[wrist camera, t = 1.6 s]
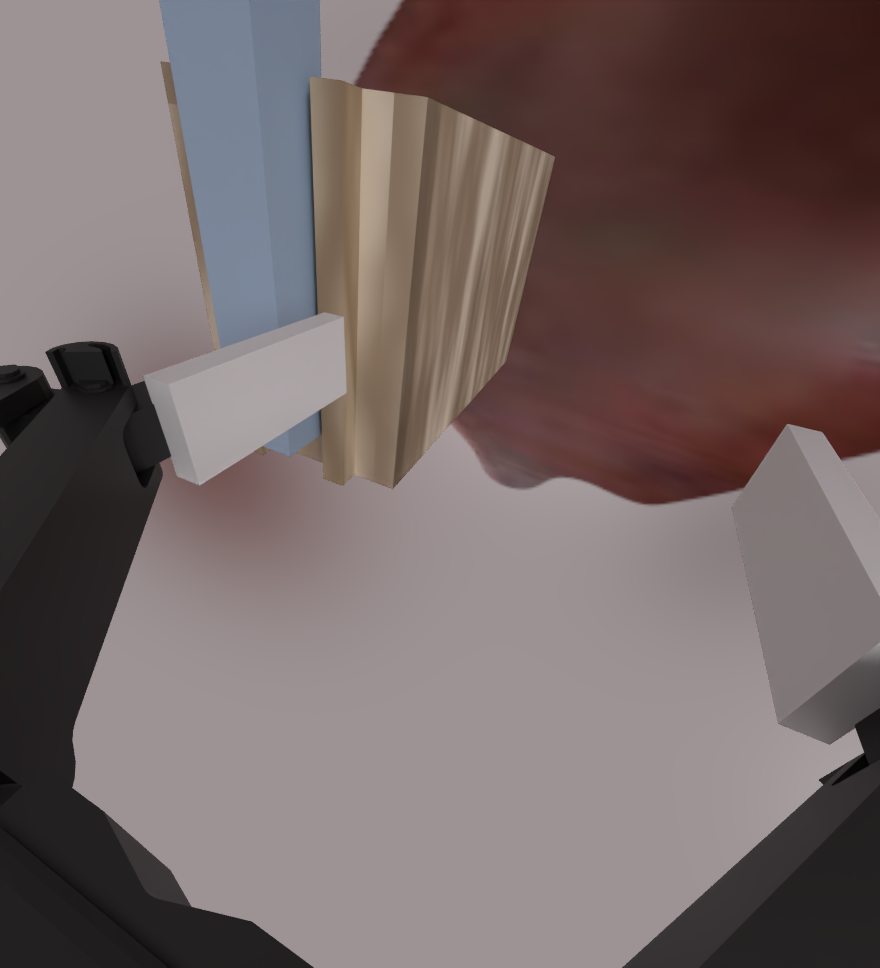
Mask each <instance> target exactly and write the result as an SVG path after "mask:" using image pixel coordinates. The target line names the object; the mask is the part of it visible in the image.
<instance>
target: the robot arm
mask: <svg viewBox="0 0 880 968" xmlns="http://www.w3.org/2000/svg"><path fill="white" fill-rule="evenodd" d="M46 355H47V357H48V359H49V361H50V363H51V365H52V367H53V369H54V372H55V374H56V376H57V378H58V380H59V382H60V384H61V387H62V388H61V389H60V390H59V389H51V387H50V385H49V383H48V381H47V379H46V377H45V375H44V373H43V371H42V370H40V369H38V368H36V367H30V366H17V365H7V366H0V438H1V440H2V441H3V443H4V445H5V446H6V448H7V449H6V450H5V451H4V452H3V453H2V455H1V456H0V968H313V967H312V966H311V965H309V964H308V963H307V962H305V961H304V960H303V959H301V958H300V957H299V956H297V955H296V954H295V953H293V952H292V951H291V950H289V949H288V948H287V947H285V946H284V945H283V944H281V943H280V942H279V941H277V940H276V939H275V938H273V937H272V936H270V935H269V934H268V933H266V932H265V931H264V930H262V929H261V928H260V927H258V926H257V925H256V924H254V923H253V922H251V921H247V920H243V919H239V918H235V917H231V916H227V915H222V914H218V913H214V912H210V911H206V910H202V909H198V908H194V907H191V905H190V903H189V902H188V900H187V898H186V896H185V895H184V893H183V891H182V890H181V888H180V886H179V884H178V883H177V881H176V879H175V877H174V875H173V874H172V872H171V870H169V869H168V868H167V867H166V866H165V865H164V864H162V863H161V862H160V861H159V860H158V859H157V858H156V857H155V856H153V855H152V854H151V853H150V852H149V851H147V849H146V848H144V847H143V846H142V845H141V844H140V843H139V842H138V841H136V840H135V839H134V838H133V837H132V836H131V835H130V834H129V833H127V832H126V831H125V830H124V829H123V828H122V827H121V826H119V825H118V824H117V823H116V822H115V821H114V820H113V819H112V818H110V817H109V816H108V815H107V814H106V813H105V812H104V811H102V810H101V809H100V808H98V807H97V806H96V805H94V804H93V803H92V802H90V801H89V800H87V799H86V798H85V797H84V796H82V795H81V794H80V793H78V792H77V791H76V790H74V789H73V788H72V787H73V782H74V778H75V762H76V761H75V756H74V748H73V742H72V737H73V729H74V725H75V721H76V718H77V715H78V712H79V710H80V707H81V704H82V701H83V698H84V695H85V692H86V690H87V687H88V684H89V681H90V678H91V676H92V673H93V670H94V667H95V665H96V662H97V659H98V656H99V653H100V650H101V648H102V645H103V642H104V639H105V637H106V634H107V631H108V628H109V625H110V622H111V620H112V617H113V614H114V611H115V608H116V606H117V603H118V600H119V597H120V594H121V592H122V589H123V586H124V583H125V580H126V578H127V575H128V572H129V569H130V566H131V564H132V561H133V558H134V555H135V552H136V550H137V547H138V544H139V541H140V538H141V535H142V533H143V530H144V527H145V524H146V521H147V518H148V516H149V513H150V510H151V507H152V504H153V502H154V499H155V496H156V493H157V491H158V488H159V485H160V482H161V479H162V476H163V472H162V468H161V466H160V464H159V463H160V462H161V461H163V460H165V459H167V458H169V457H171V459H172V462H173V465H174V468H175V471H176V474H177V476H178V477H180V478H183V479H185V480H188V481H190V482H193V483H195V484H197V485H201V484H203V483H204V482H206V481H207V480H209V479H210V478H212V477H214V476H215V475H217V474H219V473H220V472H222V471H223V470H225V469H227V468H228V467H230V466H231V465H233V464H234V463H236V462H238V461H239V460H241V459H242V458H244V457H246V456H247V455H249V454H250V453H252V452H254V451H255V450H257V449H258V448H260V447H262V446H263V445H265V444H266V443H268V442H269V441H271V440H273V439H274V438H276V437H277V436H279V435H281V434H282V433H284V432H285V431H287V430H289V429H290V428H292V427H293V426H295V425H297V424H298V423H300V422H301V421H303V420H304V419H306V418H308V417H309V416H311V415H312V414H314V413H316V412H317V411H319V410H320V409H322V408H324V407H325V406H327V405H328V404H330V403H332V402H333V401H335V400H336V399H338V398H339V397H341V396H343V395H344V394H346V393H347V387H346V361H345V336H344V317H342V316H338V315H334V314H330V313H326V312H324V313H321V314H318V315H315V316H312V317H310V318H307V319H304V320H301V321H298V322H295V323H292V324H290V325H287V326H284V327H281V328H278V329H275V330H272V331H270V332H267V333H264V334H261V335H258V336H255V337H252V338H250V339H247V340H244V341H241V342H238V343H235V344H232V345H230V346H227V347H224V348H221V349H218V350H215V351H212V352H210V353H207V354H204V355H201V356H198V357H195V358H192V359H190V360H187V361H184V362H181V363H178V364H175V365H172V366H169V367H167V368H164V369H161V370H158V371H155V372H152V373H149V374H147V375H144V376H143V377H144V380H145V381H143V382H140V383H137V384H134V385H132V386H131V383H130V380H129V378H128V375H127V372H126V369H125V367H124V364H123V361H122V358H121V355H120V353H119V350H118V347H116V346H115V345H113V344H110V343H106V342H93V341H90V342H76V343H70V344H65V345H61V346H57V347H55V348H52V349H50V350H48V351H46ZM732 512H733V516H734V520H735V526H736V530H737V535H738V539H739V544H740V549H741V553H742V558H743V562H744V567H745V572H746V577H747V581H748V586H749V591H750V595H751V600H752V605H753V609H754V614H755V618H756V623H757V628H758V632H759V637H760V642H761V646H762V651H763V656H764V660H765V665H766V669H767V674H768V679H769V683H770V688H771V693H772V697H773V701H774V707H775V711H776V716H777V721H778V724H780V725H783V726H785V727H788V728H790V729H793V730H795V731H797V732H800V733H803V734H805V735H807V736H810V737H812V738H814V739H817V740H819V741H822V742H824V743H827V744H829V745H830V744H832V743H833V742H835V741H836V740H838V739H839V738H841V737H842V736H844V735H845V734H846V733H848V732H850V731H851V730H853V729H854V728H856V731H857V733H858V736H859V739H860V742H861V745H862V747H863V750H864V753H863V754H861V755H859V756H858V757H856V758H854V759H852V760H851V761H849V762H847V763H846V764H844V765H842V766H841V767H839V768H838V769H836V770H834V771H833V772H831V773H830V774H828V775H826V776H824V777H823V778H821V779H819V781H820V782H821V783H822V784H823V786H822V787H821V788H819V789H818V790H817V791H816V792H815V793H814V794H813V795H812V796H811V797H809V798H808V799H807V800H806V801H805V802H804V803H803V804H802V805H801V806H800V807H798V808H797V809H796V810H795V811H794V812H793V813H792V814H791V815H790V816H789V817H787V819H785V820H784V821H783V822H782V823H781V824H780V825H779V826H778V827H776V828H775V829H774V830H773V831H772V832H771V833H770V834H769V835H768V836H767V837H765V838H764V839H763V840H762V841H761V842H760V843H759V844H758V845H757V846H756V847H754V848H753V849H752V850H751V851H750V852H749V853H748V854H747V855H746V856H745V857H743V858H742V859H741V860H740V861H739V862H738V863H737V864H736V865H735V866H734V867H733V868H731V869H730V870H729V871H728V872H727V873H726V874H725V875H724V876H723V877H722V878H720V879H719V880H718V881H717V882H716V883H715V884H714V885H713V886H712V887H710V888H709V889H708V890H707V891H706V892H705V893H704V894H703V895H702V896H701V897H699V898H698V899H697V900H696V901H695V902H694V903H693V904H692V905H691V906H689V908H687V909H686V910H685V911H684V912H683V913H682V914H681V915H680V916H679V917H677V918H676V919H675V920H674V921H673V922H672V923H671V924H670V925H669V926H667V927H666V928H665V929H664V930H663V931H662V932H661V933H660V934H659V935H658V936H657V937H655V938H654V939H653V940H652V941H651V942H650V943H649V944H648V945H647V946H645V947H644V948H643V949H642V950H641V951H640V952H639V953H638V954H637V955H636V956H635V957H633V958H632V959H631V960H630V961H629V962H628V963H627V964H626V965H625V966H623V967H622V968H880V519H879V517H878V516H877V514H876V513H875V511H874V510H873V508H872V507H871V505H870V504H869V502H868V501H867V499H866V498H865V496H864V495H863V493H862V492H861V490H860V488H859V487H858V485H857V484H856V483H855V481H854V479H853V478H852V476H851V475H850V474H849V472H848V470H847V469H846V467H845V466H844V464H843V463H842V461H841V460H840V458H839V457H838V455H837V454H836V452H835V451H834V449H833V448H832V446H831V445H830V443H829V442H828V440H827V439H826V437H825V436H824V434H823V433H822V432H819V431H815V430H811V429H806V428H802V427H798V426H794V425H790V424H787V425H786V426H785V428H784V429H783V431H782V432H781V434H780V435H779V437H778V438H777V440H776V441H775V443H774V444H773V446H772V447H771V449H770V450H769V452H768V453H767V455H766V456H765V458H764V459H763V461H762V462H761V464H760V465H759V467H758V468H757V470H756V471H755V473H754V474H753V476H752V477H751V479H750V480H749V482H748V483H747V485H746V486H745V488H744V490H743V491H742V493H741V494H740V496H739V497H738V499H737V500H736V502H735V503H734V505H733V506H732Z"/></svg>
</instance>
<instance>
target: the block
mask: <svg viewBox="0 0 880 968" xmlns="http://www.w3.org/2000/svg"><path fill="white" fill-rule="evenodd" d="M319 1H320V0H159V2H160V8H161V13H162V19H163V25H164V30H165V36H166V42H167V47H168V53H169V59H170V64H171V70H172V76H173V81H174V87H175V93H176V98H177V104H178V110H179V116H180V121H181V127H182V133H183V138H184V144H185V150H186V155H187V161H188V167H189V172H190V178H191V184H192V189H193V195H194V201H195V206H196V212H197V218H198V223H199V229H200V235H201V241H202V246H203V252H204V258H205V263H206V269H207V275H208V280H209V286H210V292H211V297H212V303H213V309H214V314H215V320H216V326H217V331H218V337H219V343H220V348H224V347H227V346H230V345H232V344H235V343H238V342H241V341H244V340H247V339H250V338H252V337H255V336H258V335H261V334H264V333H267V332H270V331H272V330H275V329H278V328H281V327H284V326H287V325H290V324H292V323H295V322H298V321H301V320H304V319H307V318H310V317H312V316H315V315H318V305H317V276H316V247H315V218H314V189H313V160H312V131H311V102H310V77H318V78H321V45H320V44H321V43H320V2H319ZM321 434H322V421H321V409H320V410H319V411H317V412H316V413H314V414H312V415H311V416H309V417H308V418H306V419H304V420H303V421H301V422H300V423H298V424H297V425H295V426H293V427H292V428H290V429H289V430H287V431H285V432H284V433H282V434H281V435H279V436H277V437H276V438H274V439H273V440H271V441H269V442H268V443H266V444H265V445H263V447H266V448H269V449H271V450H274V451H277V452H279V453H282V454H284V455H287V456H292V455H293V454H294V453H296V452H297V451H299V450H300V449H302V448H303V447H304V446H306V445H307V444H309V443H310V442H311V441H313V440H314V439H316V438H317V437H318V436H320V435H321Z"/></svg>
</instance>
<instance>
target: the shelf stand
mask: <svg viewBox="0 0 880 968" xmlns="http://www.w3.org/2000/svg"><path fill="white" fill-rule="evenodd" d="M161 67H162V72H163V77H164V83H165V88H166V93H167V99H168V105H169V109H170V115H171V120H172V126H173V131H174V136H175V142H176V148H177V152H178V158H179V164H180V168H181V175H182V180H183V185H184V190H185V196H186V201H187V207H188V212H189V218H190V223H191V228H192V234H193V239H194V244H195V250H196V255H197V261H198V266H199V271H200V277H201V282H202V288H203V293H204V298H205V304H206V309H207V315H208V320H209V325H210V331H211V336H212V341H213V347H214V351H215V350H218V349H221V348H220V343H219V337H218V331H217V326H216V320H215V314H214V309H213V303H212V297H211V292H210V286H209V280H208V275H207V269H206V263H205V258H204V252H203V246H202V241H201V235H200V229H199V223H198V218H197V212H196V206H195V201H194V195H193V189H192V184H191V178H190V172H189V167H188V161H187V155H186V150H185V144H184V138H183V133H182V127H181V121H180V116H179V110H178V104H177V98H176V93H175V87H174V81H173V76H172V70H171V64H170V63H168V62H161ZM310 102H311V131H312V160H313V189H314V218H315V247H316V276H317V305H318V314H321V313H324V312H326V313H330V314H334V315H338V316H342V317H344V336H345V361H346V387H347V393H346V394H344V395H343V396H341V397H339V398H338V399H336V400H335V401H333V402H332V403H330V404H328V405H327V406H325V407H324V408H322V409H321V421H322V434H321V435H320V436H318V437H317V438H316V439H314V440H313V441H311V442H310V443H309V444H307V445H306V446H304V447H303V448H302V449H300V450H299V451H297V452H296V453H298V454H301V455H304V456H306V457H309V458H312V459H314V460H317V461H320V462H322V463H323V478H324V479H326V480H329V481H332V482H334V483H336V484H339V485H342V486H343V485H344V484H345V483H346V482H347V481H348V480H349V479H350V478H352V477H353V476H354V475H357V476H359V477H362V478H365V479H367V480H370V481H373V482H375V483H378V484H381V485H383V486H386V487H388V488H391V489H393V488H394V487H395V486H396V485H397V484H398V482H399V481H400V480H401V479H402V478H403V477H404V476H405V475H406V474H407V472H408V471H409V470H410V469H411V468H412V467H413V465H415V463H416V462H417V461H418V460H419V459H420V458H421V457H422V456H423V454H424V453H425V452H426V451H427V450H428V449H429V448H430V447H431V445H432V444H433V443H434V442H435V441H436V440H437V439H438V438H439V436H440V435H441V434H442V433H443V432H444V431H445V430H446V428H447V427H448V426H449V425H450V424H451V423H452V422H453V421H454V420H455V418H456V417H457V416H458V415H459V414H460V413H461V412H462V410H463V409H464V408H465V407H466V406H467V405H468V404H469V403H470V401H471V400H472V399H473V398H474V397H475V396H476V395H477V394H478V392H479V391H480V390H481V389H482V388H483V387H484V386H485V385H486V383H487V382H488V381H489V380H490V379H491V378H492V377H493V376H494V374H495V373H496V372H497V371H498V370H499V369H500V368H501V367H502V365H503V364H504V363H505V362H506V361H507V357H508V353H509V348H510V344H511V340H512V336H513V332H514V327H515V323H516V319H517V315H518V311H519V307H520V302H521V298H522V294H523V290H524V286H525V281H526V277H527V273H528V269H529V265H530V261H531V256H532V252H533V248H534V244H535V240H536V235H537V231H538V227H539V223H540V219H541V215H542V210H543V206H544V202H545V198H546V194H547V189H548V185H549V181H550V177H551V173H552V169H553V164H554V160H555V157H554V156H552V155H550V154H548V153H546V152H544V151H542V150H539V149H537V148H535V147H533V146H531V145H529V144H527V143H524V142H522V141H520V140H518V139H516V138H514V137H512V136H509V135H507V134H505V133H503V132H501V131H499V130H497V129H494V128H492V127H490V126H488V125H486V124H484V123H482V122H479V121H477V120H475V119H473V118H471V117H469V116H467V115H464V114H462V113H460V112H458V111H456V110H454V109H452V108H450V107H447V106H445V105H443V104H441V103H439V102H437V101H435V100H432V99H430V98H428V97H422V96H414V95H407V94H399V93H392V92H384V91H377V90H369V89H362V88H360V87H357V86H354V85H352V84H349V83H347V82H344V81H341V80H333V79H326V78H318V77H310ZM270 450H271V449H269V448H266V447H263V446H262V447H260V448H258V449H257V450H255V451H254V452H256V453H259V454H261V455H264V454H266V453H267V452H269V451H270Z"/></svg>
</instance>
